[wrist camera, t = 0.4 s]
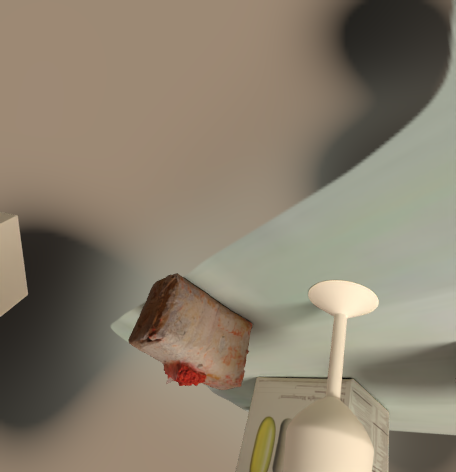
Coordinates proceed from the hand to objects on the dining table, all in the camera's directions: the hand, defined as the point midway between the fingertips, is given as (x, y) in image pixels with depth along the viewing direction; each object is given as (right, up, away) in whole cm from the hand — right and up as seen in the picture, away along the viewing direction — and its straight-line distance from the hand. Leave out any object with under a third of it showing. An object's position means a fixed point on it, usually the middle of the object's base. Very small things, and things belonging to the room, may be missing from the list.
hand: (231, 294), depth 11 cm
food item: (-3, -7, +36) cm, 37 cm away
